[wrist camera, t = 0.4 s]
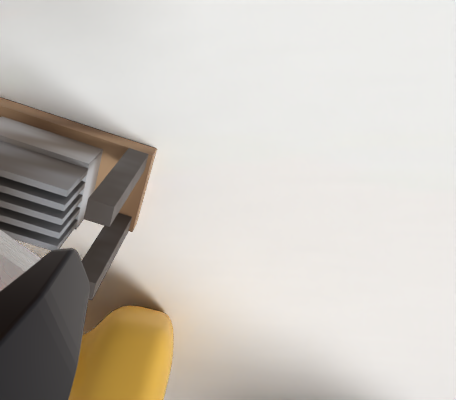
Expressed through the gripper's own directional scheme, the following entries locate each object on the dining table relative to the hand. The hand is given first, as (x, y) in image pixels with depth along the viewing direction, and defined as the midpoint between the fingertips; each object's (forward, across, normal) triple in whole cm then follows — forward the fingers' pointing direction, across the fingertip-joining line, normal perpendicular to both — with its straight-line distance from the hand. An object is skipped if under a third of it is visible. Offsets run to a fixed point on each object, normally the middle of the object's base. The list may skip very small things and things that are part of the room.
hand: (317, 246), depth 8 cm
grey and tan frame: (+14, +11, +4) cm, 19 cm away
